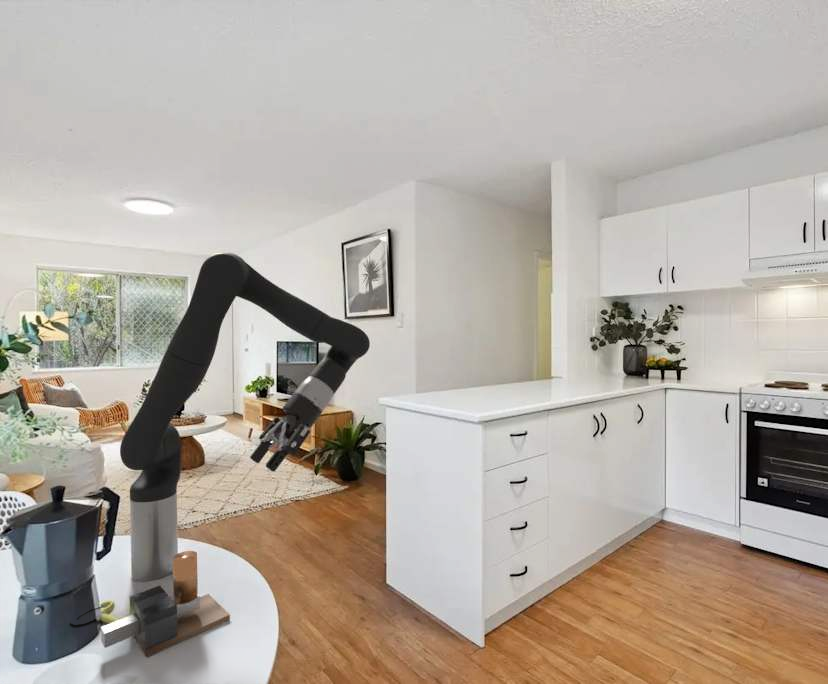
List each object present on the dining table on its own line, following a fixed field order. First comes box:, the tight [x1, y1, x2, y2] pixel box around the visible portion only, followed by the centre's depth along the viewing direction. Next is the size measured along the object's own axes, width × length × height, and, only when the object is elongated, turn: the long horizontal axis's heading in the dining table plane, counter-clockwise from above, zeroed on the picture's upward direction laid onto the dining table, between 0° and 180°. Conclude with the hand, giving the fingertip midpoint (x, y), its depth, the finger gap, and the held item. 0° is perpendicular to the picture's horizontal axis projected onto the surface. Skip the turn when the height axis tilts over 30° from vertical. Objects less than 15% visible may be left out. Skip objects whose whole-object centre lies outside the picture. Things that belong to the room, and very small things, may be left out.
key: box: [100, 600, 130, 624], centre depth 88 cm, size 7×12×2 cm, turn 79°
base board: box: [133, 593, 231, 659], centre depth 85 cm, size 10×14×1 cm
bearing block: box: [129, 585, 177, 650], centre depth 82 cm, size 9×5×6 cm, turn 45°
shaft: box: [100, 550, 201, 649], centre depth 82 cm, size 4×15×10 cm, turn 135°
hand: (261, 464), depth 95 cm, fingers open, 8 cm apart
